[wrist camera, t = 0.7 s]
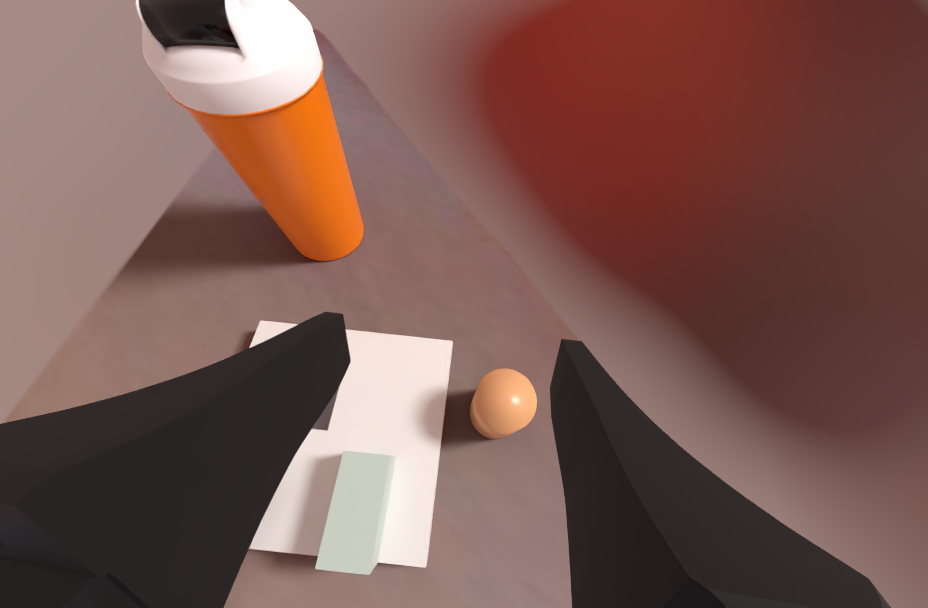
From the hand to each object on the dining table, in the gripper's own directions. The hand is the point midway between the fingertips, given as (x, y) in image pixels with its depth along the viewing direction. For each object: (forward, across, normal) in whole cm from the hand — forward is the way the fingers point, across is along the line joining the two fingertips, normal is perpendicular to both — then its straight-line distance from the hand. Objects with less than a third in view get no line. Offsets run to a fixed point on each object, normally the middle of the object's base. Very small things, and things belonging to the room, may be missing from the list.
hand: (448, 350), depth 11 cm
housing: (+7, +10, +15) cm, 19 cm away
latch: (+3, +6, +16) cm, 17 cm away
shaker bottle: (+22, +16, +5) cm, 28 cm away
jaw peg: (+10, -2, +14) cm, 18 cm away
